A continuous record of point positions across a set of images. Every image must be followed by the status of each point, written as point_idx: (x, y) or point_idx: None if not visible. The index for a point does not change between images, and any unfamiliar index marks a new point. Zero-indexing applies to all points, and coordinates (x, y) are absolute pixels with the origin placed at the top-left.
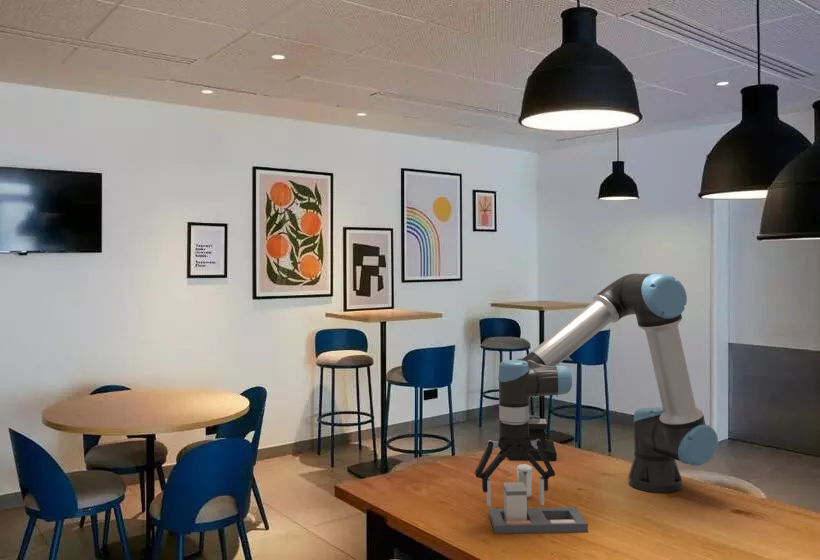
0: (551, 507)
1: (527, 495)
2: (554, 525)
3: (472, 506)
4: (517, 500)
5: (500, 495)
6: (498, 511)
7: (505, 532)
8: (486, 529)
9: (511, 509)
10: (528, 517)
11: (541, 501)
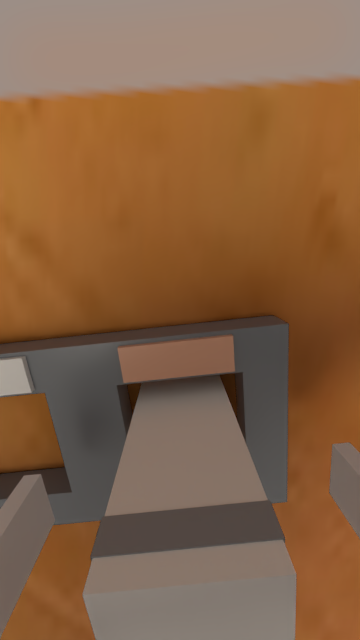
0: None
1: None
2: (13, 351)
3: (320, 545)
4: (179, 472)
5: None
6: None
7: (232, 321)
8: (301, 356)
9: (212, 424)
10: None
11: (26, 494)
